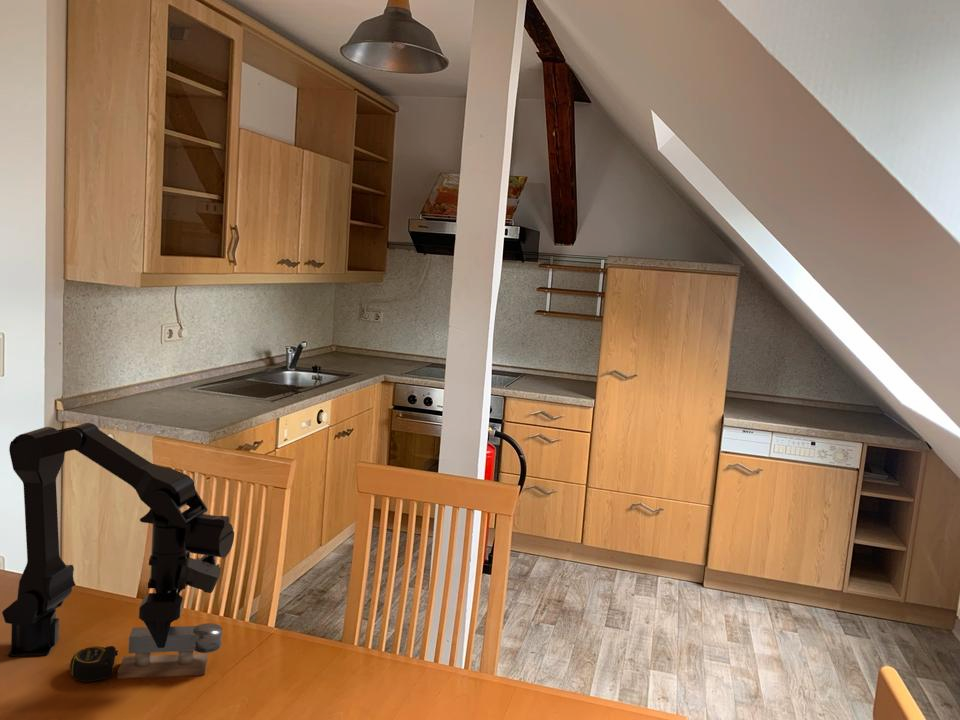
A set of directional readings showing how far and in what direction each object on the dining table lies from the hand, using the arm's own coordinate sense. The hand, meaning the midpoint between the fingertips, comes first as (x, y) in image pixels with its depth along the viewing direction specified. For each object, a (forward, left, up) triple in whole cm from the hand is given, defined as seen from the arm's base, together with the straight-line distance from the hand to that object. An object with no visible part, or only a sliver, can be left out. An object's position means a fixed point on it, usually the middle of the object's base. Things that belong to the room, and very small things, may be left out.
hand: (165, 633), depth 133 cm
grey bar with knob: (+2, 0, -3) cm, 3 cm away
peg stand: (0, 0, -6) cm, 6 cm away
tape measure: (-10, 0, -7) cm, 13 cm away
